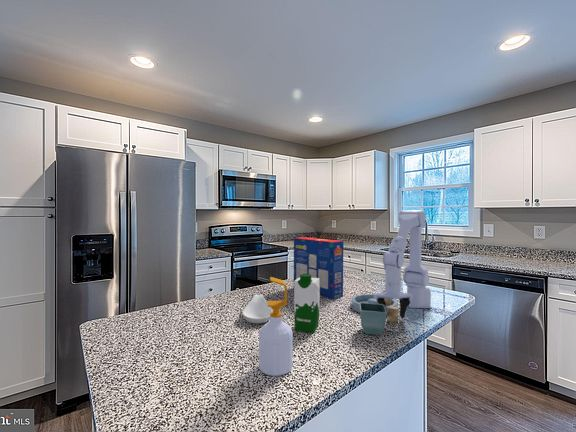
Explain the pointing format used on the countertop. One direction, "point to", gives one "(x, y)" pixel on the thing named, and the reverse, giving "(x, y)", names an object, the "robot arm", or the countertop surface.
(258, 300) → the spoon rest
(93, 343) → the countertop surface
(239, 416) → the countertop surface
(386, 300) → the bead
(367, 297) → the ring tray
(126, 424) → the countertop surface
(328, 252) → the pasta box
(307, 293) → the milk carton
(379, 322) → the flower pot
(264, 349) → the soap bottle
